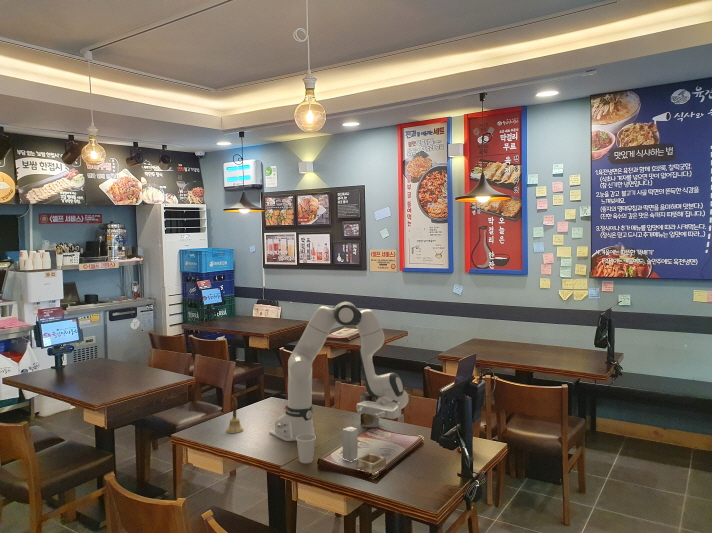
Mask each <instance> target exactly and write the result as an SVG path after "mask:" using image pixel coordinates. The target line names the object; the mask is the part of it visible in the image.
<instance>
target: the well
mask: <svg viewBox="0 0 712 533" xmlns="http://www.w3.org/2000/svg"><path fill="white" fill-rule="evenodd" d="M385 466H386V467H387V457H384V456H380V455H378V454H374V453H370V452H368V453H365V454H364V455H362V456H361V457H358V459H357V460H356V469H360V470H364V471H367V472H369V473H375V472H377V471H379V470H380V469H381V468H383V467H385Z"/></svg>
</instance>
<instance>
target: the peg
mask: <svg viewBox="0 0 712 533" xmlns="http://www.w3.org/2000/svg"><path fill="white" fill-rule="evenodd" d="M358 435H359V432H358V428H356V427H354V426H353V427H352V426H346V427H344V428H342V459H343V458H344V459H347V460H349V461H353V460H354V459H356V458H359V457H358V448H359V447H358V446H359V445H358V443H359V442H358V439H359V437H358ZM353 462H354V461H353Z"/></svg>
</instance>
